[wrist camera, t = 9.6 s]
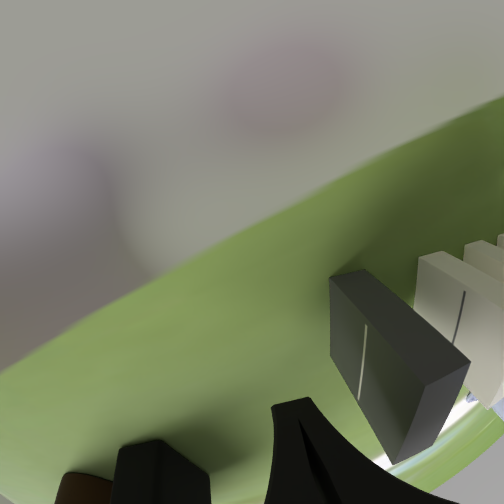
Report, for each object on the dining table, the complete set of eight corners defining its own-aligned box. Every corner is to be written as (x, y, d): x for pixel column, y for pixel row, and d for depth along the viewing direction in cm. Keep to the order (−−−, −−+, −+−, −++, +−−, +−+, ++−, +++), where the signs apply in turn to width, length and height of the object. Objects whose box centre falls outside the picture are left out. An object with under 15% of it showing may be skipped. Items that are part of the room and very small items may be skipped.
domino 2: (442, 250, 15) (544, 309, 7) (432, 321, 16) (509, 392, 9) (418, 257, 14) (525, 325, 7) (409, 330, 16) (486, 410, 9)
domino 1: (329, 355, 16) (392, 465, 8) (329, 277, 14) (425, 386, 6) (361, 346, 16) (432, 445, 8) (364, 269, 14) (471, 361, 7)
